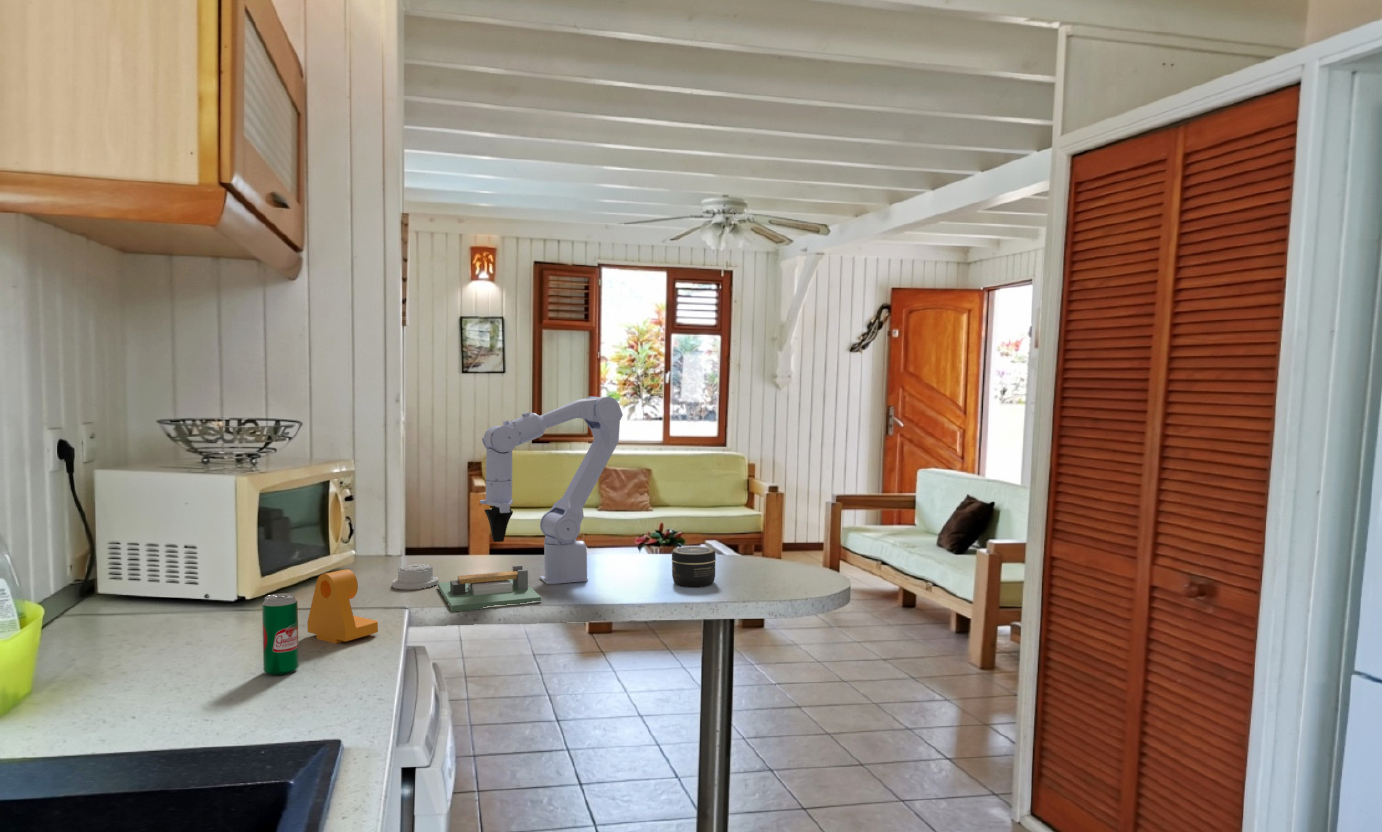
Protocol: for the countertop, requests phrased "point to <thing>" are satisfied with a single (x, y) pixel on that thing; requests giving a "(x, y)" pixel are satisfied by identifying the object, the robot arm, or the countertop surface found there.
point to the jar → (693, 566)
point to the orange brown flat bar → (488, 577)
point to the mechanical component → (415, 577)
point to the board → (488, 592)
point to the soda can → (280, 634)
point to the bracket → (337, 609)
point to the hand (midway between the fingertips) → (498, 541)
